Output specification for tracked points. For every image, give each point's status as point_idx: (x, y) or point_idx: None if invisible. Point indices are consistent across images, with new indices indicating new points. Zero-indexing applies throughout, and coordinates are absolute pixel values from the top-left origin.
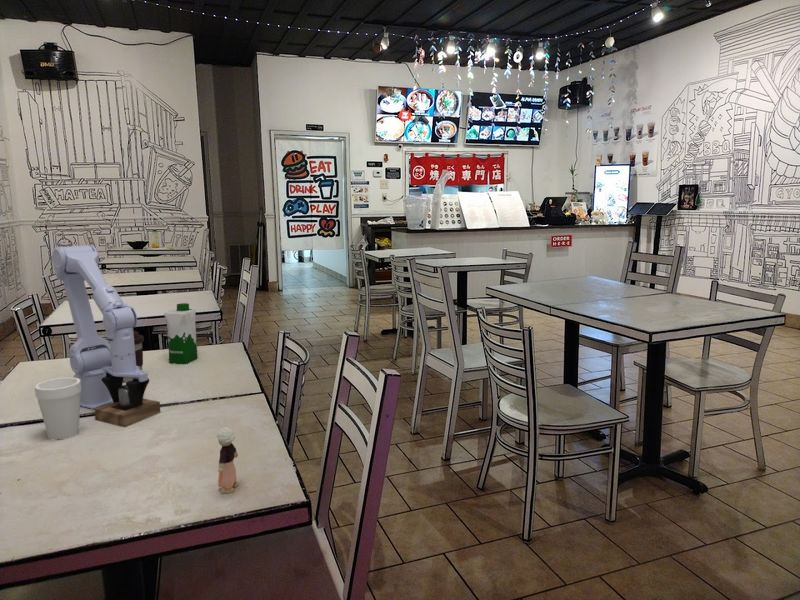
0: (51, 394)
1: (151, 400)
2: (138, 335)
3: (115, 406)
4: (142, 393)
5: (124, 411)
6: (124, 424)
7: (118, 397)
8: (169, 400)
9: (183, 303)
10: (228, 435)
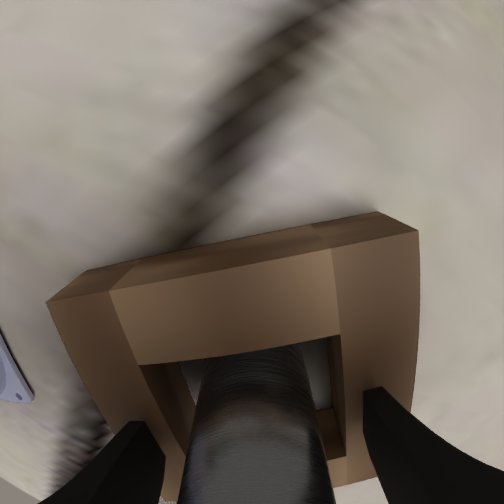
0: None
1: (318, 258)
2: None
3: (184, 446)
4: (434, 451)
5: (347, 461)
6: None
7: (146, 460)
8: (186, 26)
9: None
10: None
